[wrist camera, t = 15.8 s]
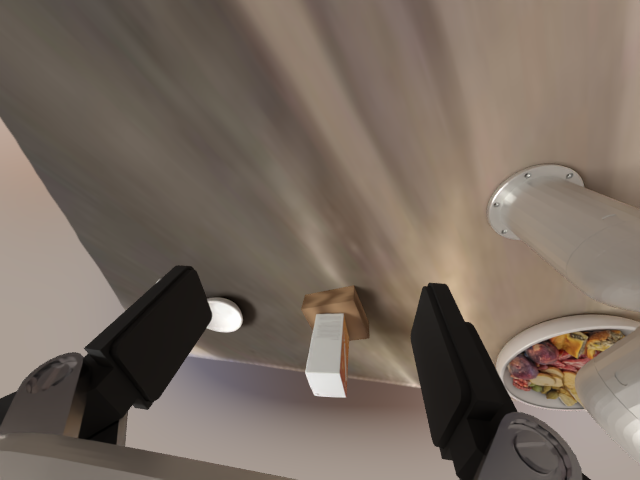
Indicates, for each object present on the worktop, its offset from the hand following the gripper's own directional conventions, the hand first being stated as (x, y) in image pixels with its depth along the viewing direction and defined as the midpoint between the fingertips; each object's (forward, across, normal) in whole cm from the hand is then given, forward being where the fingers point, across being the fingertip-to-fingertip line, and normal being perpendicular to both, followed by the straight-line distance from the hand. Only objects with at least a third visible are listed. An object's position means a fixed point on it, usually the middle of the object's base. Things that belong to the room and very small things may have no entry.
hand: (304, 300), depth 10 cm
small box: (+29, +2, +36) cm, 46 cm away
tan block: (+34, +1, +36) cm, 49 cm away
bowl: (+34, -51, +44) cm, 75 cm away
